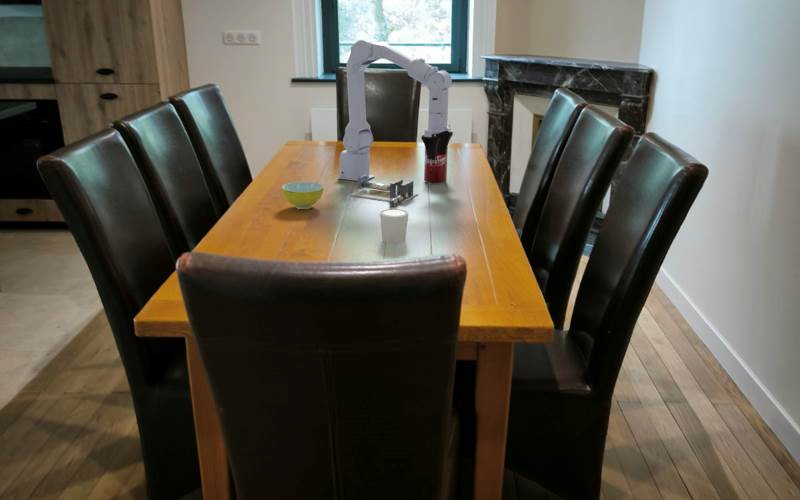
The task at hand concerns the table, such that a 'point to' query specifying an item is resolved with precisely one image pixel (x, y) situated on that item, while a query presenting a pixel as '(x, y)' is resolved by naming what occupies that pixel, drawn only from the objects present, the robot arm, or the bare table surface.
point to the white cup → (393, 225)
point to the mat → (365, 194)
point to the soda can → (436, 169)
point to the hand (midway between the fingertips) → (436, 157)
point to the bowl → (302, 193)
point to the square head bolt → (371, 184)
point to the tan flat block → (379, 192)
